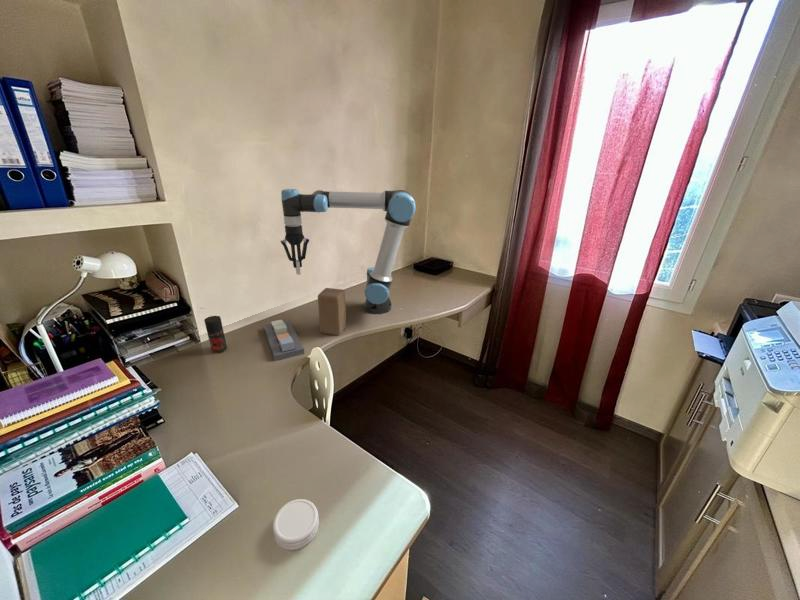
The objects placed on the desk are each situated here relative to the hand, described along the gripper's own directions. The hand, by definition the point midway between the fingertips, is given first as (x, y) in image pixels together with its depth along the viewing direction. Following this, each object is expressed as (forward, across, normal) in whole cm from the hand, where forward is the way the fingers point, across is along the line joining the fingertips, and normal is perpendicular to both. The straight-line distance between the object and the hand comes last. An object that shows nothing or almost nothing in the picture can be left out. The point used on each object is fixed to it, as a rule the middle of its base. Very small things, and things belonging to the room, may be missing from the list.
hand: (298, 273), depth 163 cm
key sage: (+22, +14, +15) cm, 30 cm away
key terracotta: (+24, +13, +22) cm, 35 cm away
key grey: (+24, +13, +7) cm, 28 cm away
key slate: (+22, +14, +28) cm, 38 cm away
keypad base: (+24, +14, +18) cm, 33 cm away
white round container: (+25, +27, +104) cm, 110 cm away
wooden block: (+25, -10, +18) cm, 32 cm away
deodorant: (+25, +39, +14) cm, 48 cm away
